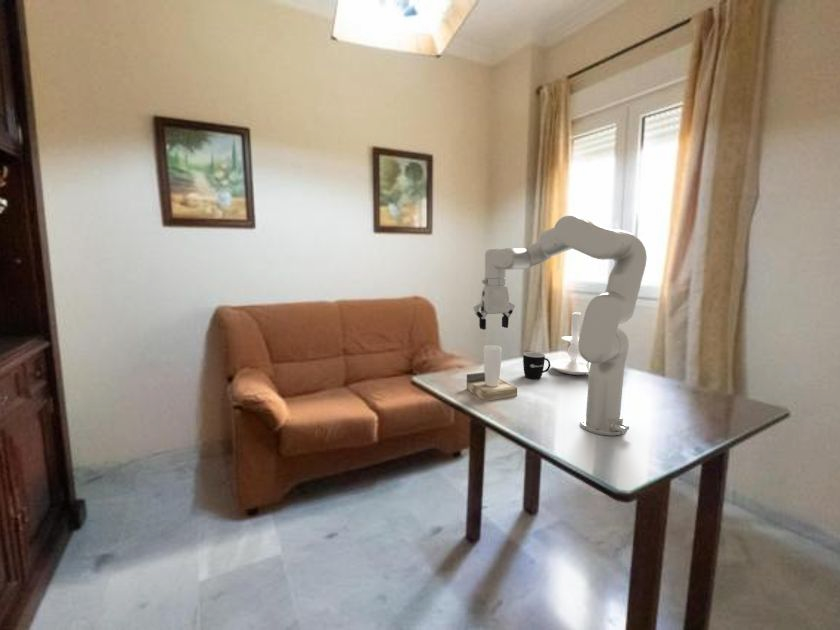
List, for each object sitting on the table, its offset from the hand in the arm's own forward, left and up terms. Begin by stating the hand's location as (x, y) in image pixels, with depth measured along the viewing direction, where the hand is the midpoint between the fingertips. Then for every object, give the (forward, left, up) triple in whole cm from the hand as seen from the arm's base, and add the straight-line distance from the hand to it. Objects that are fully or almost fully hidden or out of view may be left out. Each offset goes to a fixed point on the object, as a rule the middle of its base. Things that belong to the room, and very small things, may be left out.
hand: (493, 328), depth 153 cm
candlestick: (+8, -49, -26) cm, 56 cm away
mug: (+10, -29, -26) cm, 40 cm away
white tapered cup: (0, 0, -23) cm, 23 cm away
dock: (0, 0, -25) cm, 25 cm away
